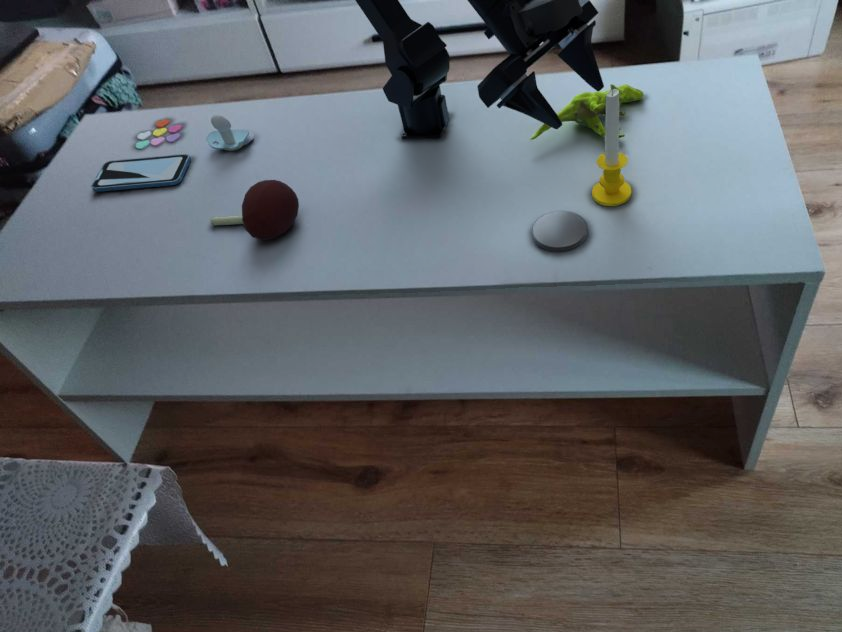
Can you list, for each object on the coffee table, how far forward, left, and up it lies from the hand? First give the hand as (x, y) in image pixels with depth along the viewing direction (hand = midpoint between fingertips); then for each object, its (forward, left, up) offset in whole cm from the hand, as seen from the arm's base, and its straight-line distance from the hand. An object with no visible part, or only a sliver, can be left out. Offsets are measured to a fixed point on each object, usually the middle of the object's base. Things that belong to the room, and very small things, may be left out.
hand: (581, 107), depth 88 cm
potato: (-45, -9, -10) cm, 47 cm away
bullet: (-53, -10, -11) cm, 55 cm away
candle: (+4, -2, -12) cm, 13 cm away
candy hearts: (-74, +13, -12) cm, 76 cm away
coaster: (-2, -10, -12) cm, 16 cm away
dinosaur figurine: (-1, +14, -12) cm, 18 cm away
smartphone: (-71, +1, -12) cm, 72 cm away
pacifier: (-58, +10, -12) cm, 60 cm away
